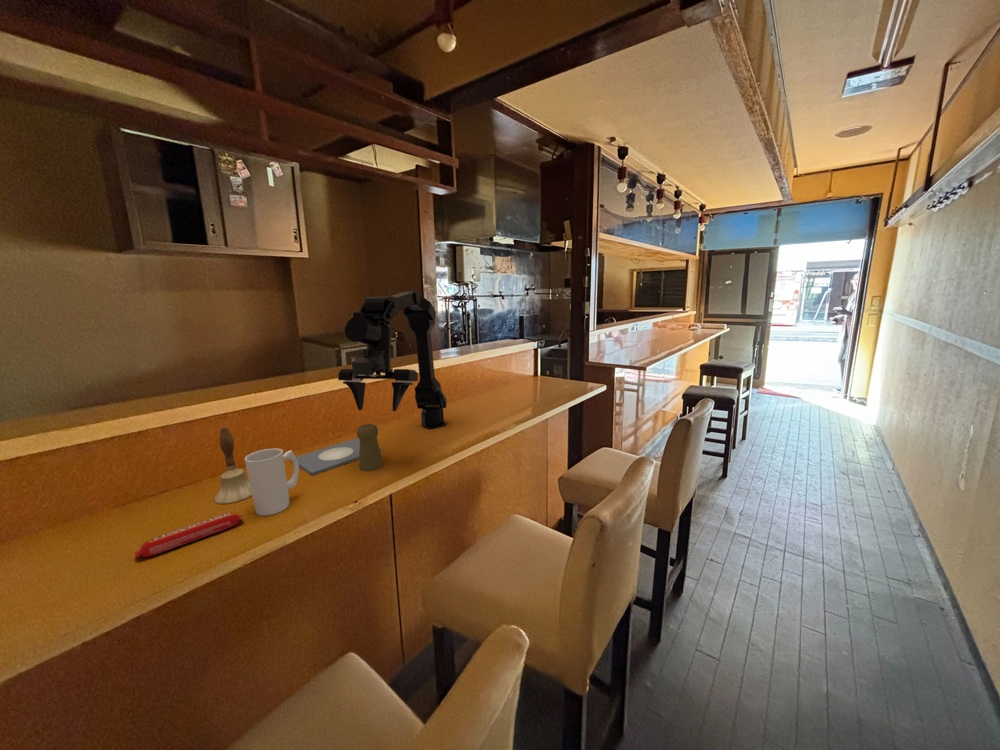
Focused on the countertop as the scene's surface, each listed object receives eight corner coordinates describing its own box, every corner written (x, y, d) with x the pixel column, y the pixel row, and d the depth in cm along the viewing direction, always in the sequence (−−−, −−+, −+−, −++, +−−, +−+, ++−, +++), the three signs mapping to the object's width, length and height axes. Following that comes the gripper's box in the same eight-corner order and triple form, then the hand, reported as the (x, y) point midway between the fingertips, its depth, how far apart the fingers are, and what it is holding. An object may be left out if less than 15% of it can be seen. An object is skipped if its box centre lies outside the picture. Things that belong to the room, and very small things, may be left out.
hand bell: (205, 500, 88) (191, 432, 85) (241, 484, 96) (229, 420, 93) (231, 506, 85) (217, 436, 82) (266, 489, 93) (255, 423, 90)
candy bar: (241, 518, 81) (239, 505, 80) (245, 525, 78) (243, 511, 78) (136, 556, 70) (132, 540, 70) (137, 565, 68) (133, 550, 67)
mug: (264, 520, 80) (254, 464, 77) (248, 511, 83) (238, 457, 81) (311, 498, 88) (304, 446, 85) (294, 490, 91) (287, 441, 89)
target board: (355, 440, 122) (355, 438, 122) (380, 451, 113) (380, 448, 112) (290, 461, 108) (290, 458, 108) (312, 475, 99) (312, 472, 99)
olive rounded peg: (361, 473, 99) (356, 431, 97) (357, 464, 105) (352, 424, 102) (385, 467, 102) (381, 426, 100) (380, 459, 107) (376, 420, 105)
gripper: (324, 343, 93) (322, 411, 92) (398, 342, 89) (397, 413, 88) (352, 348, 103) (350, 409, 103) (419, 348, 99) (417, 411, 99)
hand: (377, 410), depth 98 cm, fingers open, 9 cm apart
